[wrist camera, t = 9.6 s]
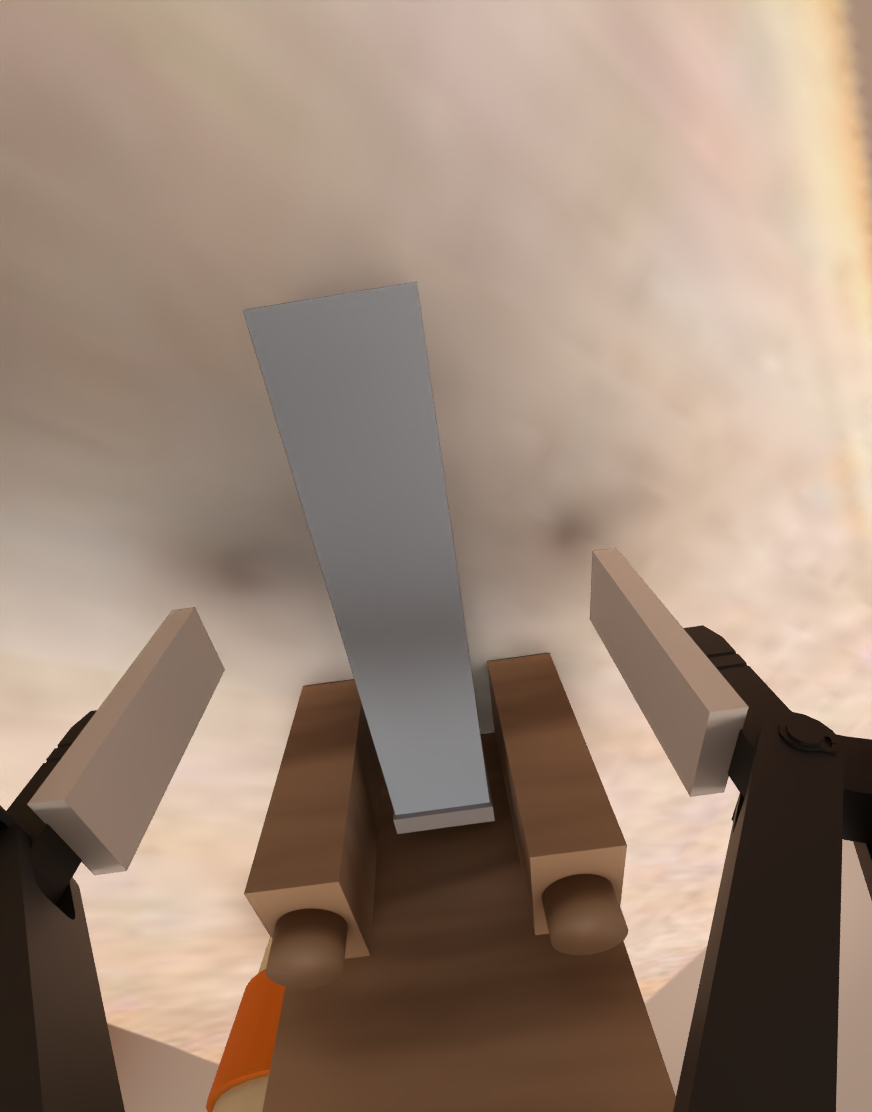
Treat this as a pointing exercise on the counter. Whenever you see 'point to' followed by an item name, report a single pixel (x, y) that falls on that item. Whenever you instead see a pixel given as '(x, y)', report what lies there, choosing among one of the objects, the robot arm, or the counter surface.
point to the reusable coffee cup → (249, 1047)
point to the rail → (382, 534)
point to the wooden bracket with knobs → (451, 925)
